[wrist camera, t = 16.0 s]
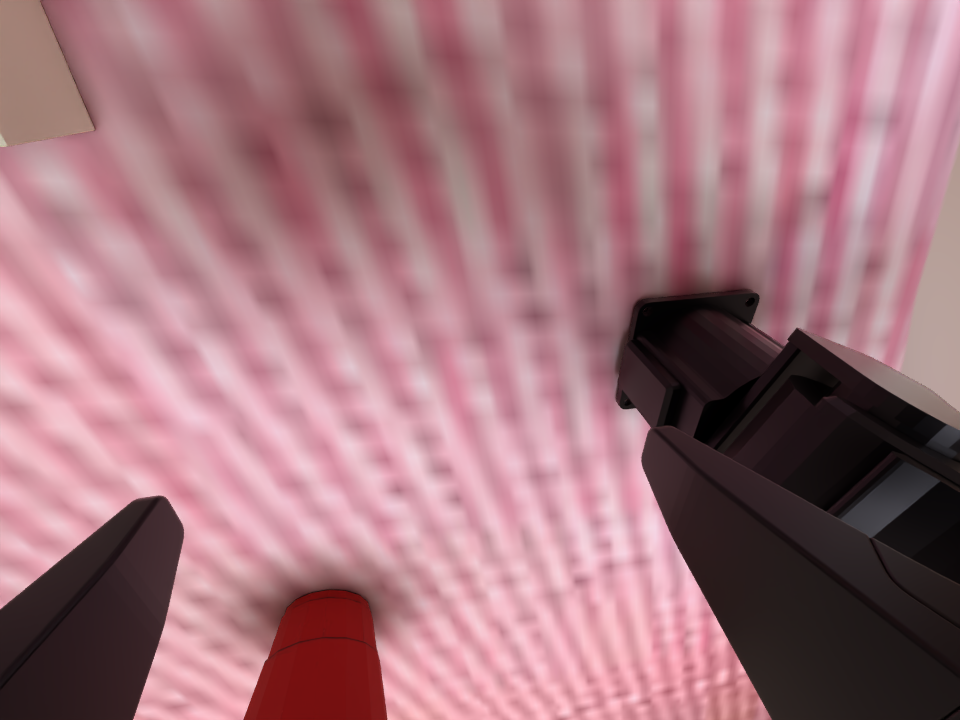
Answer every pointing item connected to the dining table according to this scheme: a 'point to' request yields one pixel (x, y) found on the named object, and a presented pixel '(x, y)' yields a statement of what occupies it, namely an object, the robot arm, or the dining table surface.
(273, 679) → the plastic cup
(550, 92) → the dining table surface
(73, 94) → the white square frame
